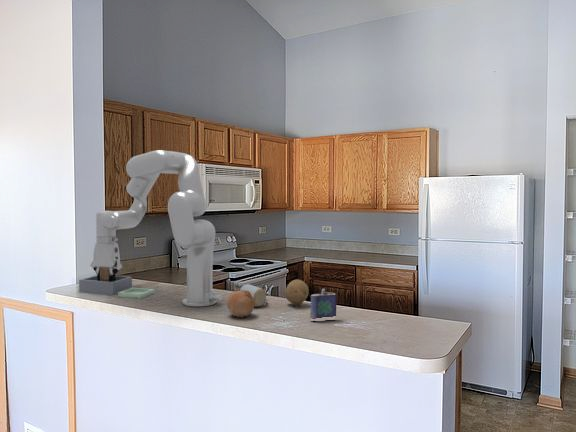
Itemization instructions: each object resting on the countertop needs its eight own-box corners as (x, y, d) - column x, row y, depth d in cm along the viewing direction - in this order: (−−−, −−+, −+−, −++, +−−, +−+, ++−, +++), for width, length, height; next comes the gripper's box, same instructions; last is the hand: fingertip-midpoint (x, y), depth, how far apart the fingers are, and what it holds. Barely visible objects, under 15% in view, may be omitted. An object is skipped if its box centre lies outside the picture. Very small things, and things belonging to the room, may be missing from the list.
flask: (311, 322, 150) (312, 290, 150) (308, 320, 153) (309, 288, 153) (337, 320, 153) (338, 289, 153) (333, 318, 156) (334, 287, 156)
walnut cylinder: (115, 289, 193) (115, 265, 193) (107, 291, 188) (107, 267, 188) (105, 288, 194) (104, 265, 194) (97, 290, 190) (97, 266, 189)
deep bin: (131, 288, 196) (131, 276, 195) (113, 294, 183) (113, 282, 183) (99, 285, 200) (99, 274, 199) (79, 291, 187) (79, 279, 187)
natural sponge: (309, 309, 167) (309, 282, 167) (284, 308, 167) (285, 281, 167) (307, 303, 176) (308, 277, 176) (284, 302, 176) (285, 277, 176)
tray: (154, 293, 187) (154, 289, 187) (140, 299, 177) (140, 294, 177) (132, 291, 189) (132, 287, 189) (117, 297, 180) (118, 292, 180)
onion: (251, 324, 157) (264, 299, 157) (234, 323, 150) (248, 296, 149) (233, 309, 163) (247, 285, 162) (216, 307, 155) (230, 282, 155)
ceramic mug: (254, 309, 165) (255, 288, 165) (237, 305, 170) (238, 285, 170) (272, 304, 174) (273, 284, 174) (256, 301, 179) (257, 281, 178)
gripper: (129, 240, 192) (129, 283, 193) (94, 238, 196) (94, 280, 197) (118, 242, 184) (118, 286, 185) (82, 240, 189) (82, 283, 190)
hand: (106, 283), depth 191 cm, fingers closed on walnut cylinder, 5 cm apart
